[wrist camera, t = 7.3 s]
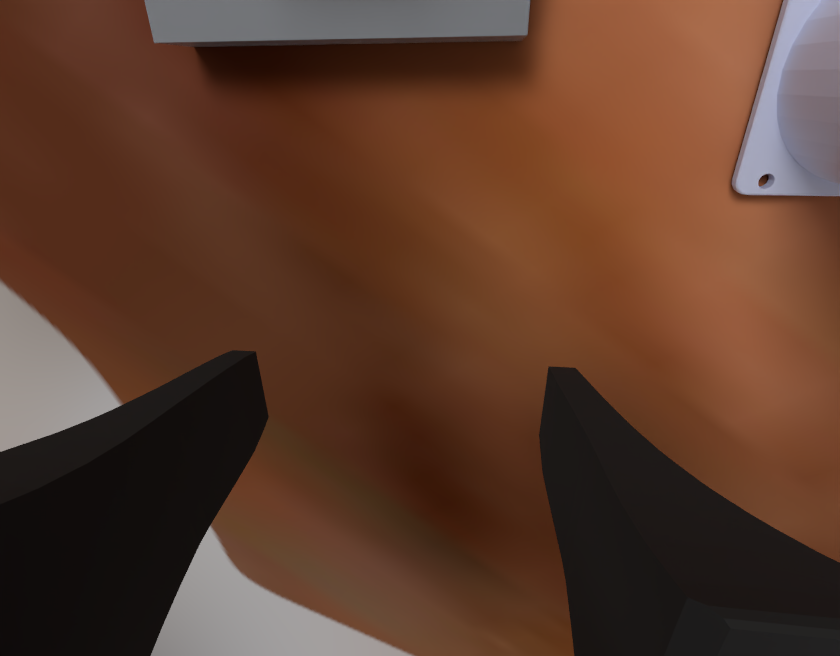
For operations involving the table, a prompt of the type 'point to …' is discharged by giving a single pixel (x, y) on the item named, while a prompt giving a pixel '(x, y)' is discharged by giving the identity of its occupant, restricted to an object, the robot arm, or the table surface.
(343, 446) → the table surface
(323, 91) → the table surface
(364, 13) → the plate
